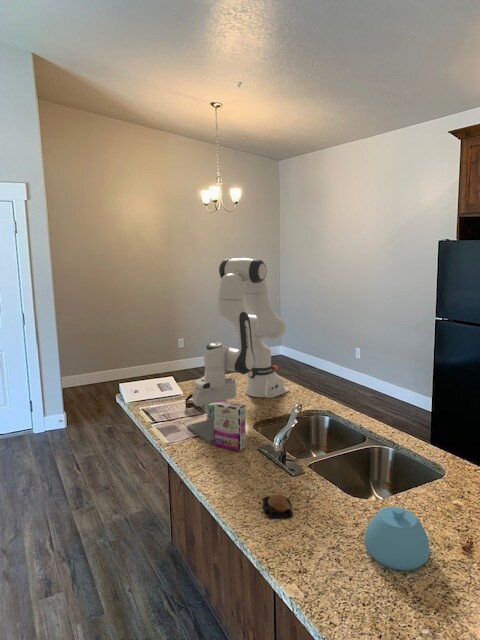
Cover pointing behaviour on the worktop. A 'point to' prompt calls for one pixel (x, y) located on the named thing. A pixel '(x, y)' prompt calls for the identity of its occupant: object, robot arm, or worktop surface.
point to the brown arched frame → (190, 405)
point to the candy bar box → (229, 425)
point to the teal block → (211, 410)
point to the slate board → (204, 430)
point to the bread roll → (277, 507)
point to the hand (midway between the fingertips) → (215, 411)
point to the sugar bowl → (397, 539)
